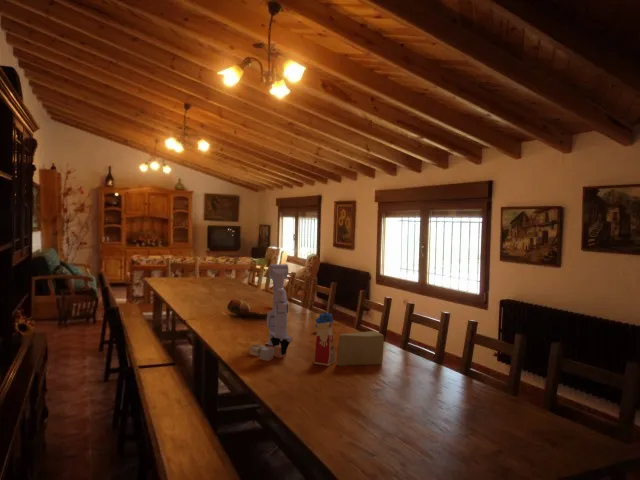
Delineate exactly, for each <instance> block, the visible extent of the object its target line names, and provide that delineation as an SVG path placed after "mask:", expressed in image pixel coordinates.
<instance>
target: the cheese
mask: <svg viewBox="0 0 640 480" xmlns="http://www.w3.org/2000/svg"><path fill="white" fill-rule="evenodd" d="M338 338H339V339H338V344H337V345H338V346H337V352H336V365H337V366H339V367H341V366H342V367H343V366H345V367H347V366H368V365H369V366H370V365H371V366H376V365H377V366H379V365H383V357H384V340H385V338H384V334H382V333H380V332H378V331H376V330H371V331H361V332H353V333H341V334H340V335H339V337H338Z"/></svg>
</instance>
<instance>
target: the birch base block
mask: <svg viewBox="0 0 640 480" xmlns="http://www.w3.org/2000/svg"><path fill="white" fill-rule="evenodd" d="M265 347H267V346H266V345H262V344H259V343H258V344H253V345H250V346H248V355H252V356H255V357H260V349H262V348H265Z"/></svg>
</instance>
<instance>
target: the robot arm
mask: <svg viewBox="0 0 640 480" xmlns="http://www.w3.org/2000/svg"><path fill="white" fill-rule="evenodd" d="M288 275H289V265H288V264H283V263H282V264H278V263H277V264H276V263H275V264H274V263H270V264H269V266H268V277H269V279H270V280H271V281H272V288H273V289H272V309H271V310H270V311H268V312H267V316H266V326H267V328H268V329H269V330H268V332H269V333H268V342H264V343H265V345H267V346H270V347H273V348H274V346H276V345H281V354H282V355H284V354H286V355H287V351H288V347H289V345H290V344H291V342H293V337H291V336H290V335H288V332H287V331H288V330H287V329H288V328H287V327H288V326H287V325H288V314H289V309H290V308H289V301H288V298H287V297H288V296H287V291H286V289H285V280H286V279H287V278H288Z"/></svg>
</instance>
